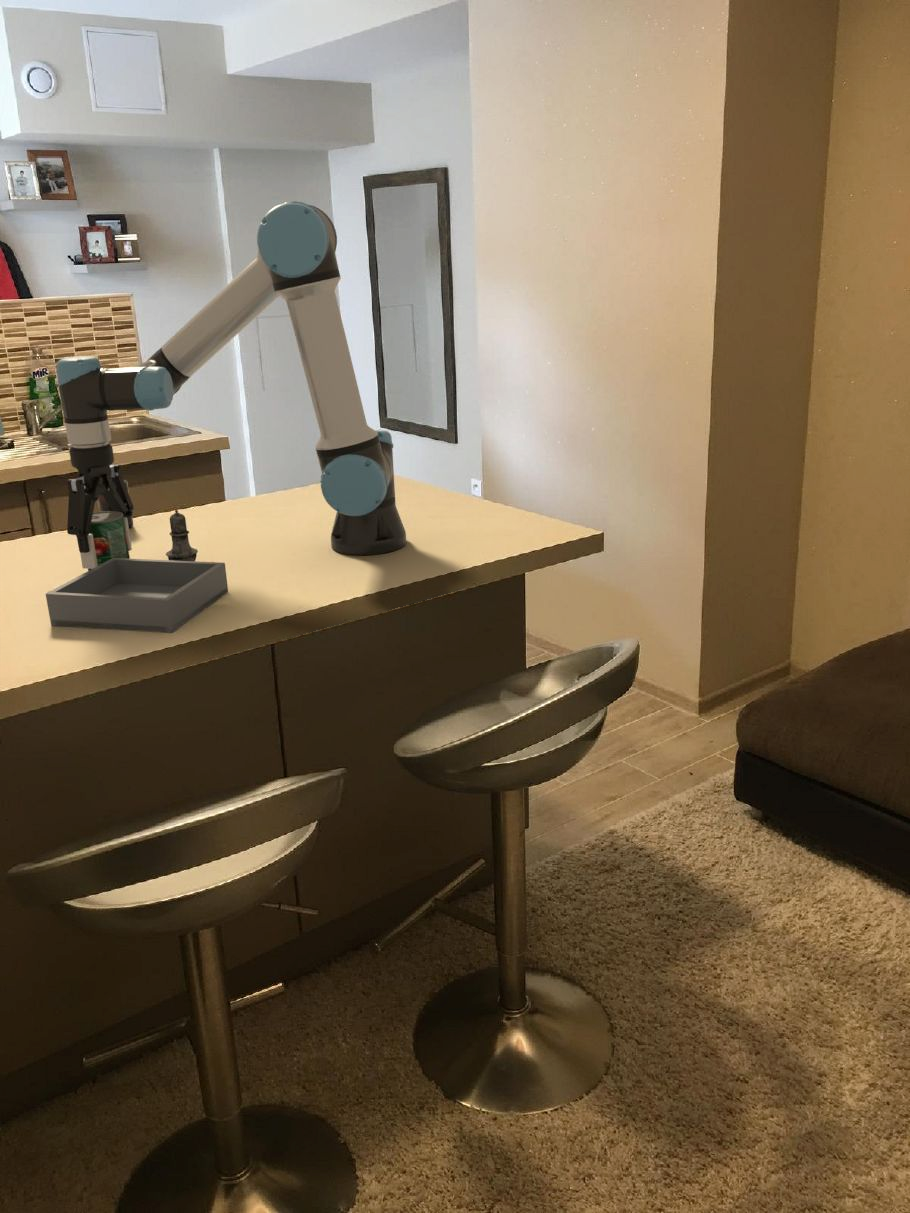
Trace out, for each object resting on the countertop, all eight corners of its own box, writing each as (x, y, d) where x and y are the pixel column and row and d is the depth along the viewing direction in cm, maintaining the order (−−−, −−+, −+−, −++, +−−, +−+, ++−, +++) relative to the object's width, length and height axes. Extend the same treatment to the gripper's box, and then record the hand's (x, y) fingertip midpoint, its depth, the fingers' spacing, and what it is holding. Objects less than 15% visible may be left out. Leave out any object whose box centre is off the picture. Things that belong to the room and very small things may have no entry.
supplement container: (140, 526, 225) (134, 480, 221) (119, 534, 219) (111, 487, 216) (117, 523, 228) (110, 478, 224) (95, 531, 222) (88, 485, 218)
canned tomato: (138, 565, 196) (130, 510, 193) (121, 578, 189) (112, 521, 185) (99, 565, 197) (90, 511, 193) (81, 578, 190) (71, 521, 186)
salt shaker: (191, 575, 189) (183, 513, 185) (162, 574, 190) (154, 512, 186) (205, 566, 195) (197, 505, 191) (176, 565, 196) (168, 504, 192)
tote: (228, 592, 179) (224, 562, 177) (172, 633, 161) (167, 600, 159) (117, 586, 184) (113, 557, 182) (51, 625, 166) (45, 593, 164)
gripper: (107, 432, 196) (123, 540, 204) (32, 456, 175) (53, 577, 182) (142, 432, 195) (157, 542, 202) (70, 457, 173) (90, 578, 181)
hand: (108, 558), depth 192 cm, fingers open, 11 cm apart
